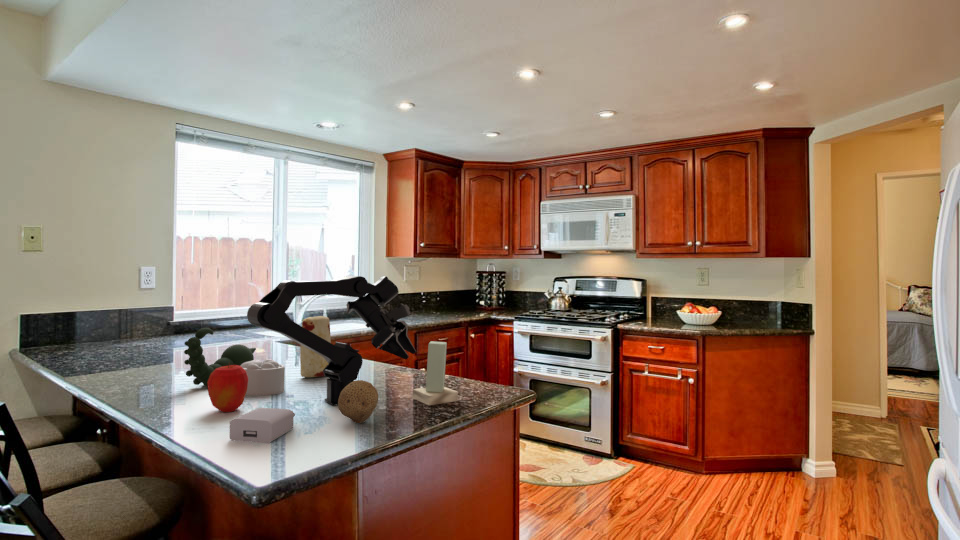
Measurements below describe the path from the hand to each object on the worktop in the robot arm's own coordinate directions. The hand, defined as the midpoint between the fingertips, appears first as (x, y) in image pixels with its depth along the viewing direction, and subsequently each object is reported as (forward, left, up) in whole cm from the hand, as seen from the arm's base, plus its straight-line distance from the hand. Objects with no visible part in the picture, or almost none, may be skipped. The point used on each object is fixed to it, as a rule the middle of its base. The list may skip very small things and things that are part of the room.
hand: (411, 355), depth 140 cm
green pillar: (+5, -4, -9) cm, 11 cm away
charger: (-39, -8, -12) cm, 41 cm away
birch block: (+5, -4, -12) cm, 14 cm away
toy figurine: (-38, +48, -12) cm, 63 cm away
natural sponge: (-21, -14, -12) cm, 28 cm away
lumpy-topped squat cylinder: (-31, +31, -12) cm, 46 cm away
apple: (-43, +14, -12) cm, 47 cm away
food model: (-12, +42, -12) cm, 46 cm away
